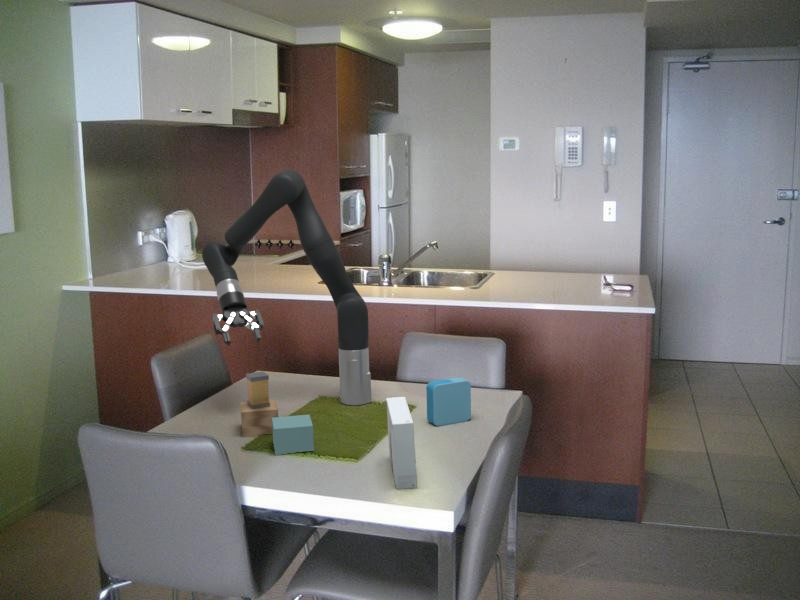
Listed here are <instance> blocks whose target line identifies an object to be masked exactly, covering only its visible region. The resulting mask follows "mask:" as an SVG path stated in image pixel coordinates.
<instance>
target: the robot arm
mask: <svg viewBox="0 0 800 600" xmlns="http://www.w3.org/2000/svg"><path fill="white" fill-rule="evenodd" d="M286 205H287V207H288V208H289V210H290V212H291V214H292V216H293V217H294V220H295V223H296V227H297V229H296V230H297V232H298V236H299V242H300V245H301V248H302V250H303V252H304V253H305V256H306V257H307V260H308V262H309V263H310V265H311V267H312V268H313V270H314V271H315V272H316V274H317V275H318V277H319V278H320V279H321V280H322V283H324V285H325V286H326V288H327V290H328V291H329V294H330V296H331V299H332V301H333V303H334V305H335V308H336V315H337V344H338V346H337V347H338V367H339V368H338V371H339V373H338V374H339V397H340V398H339V399H340V400H339V401H340V403H341V404H342V403H343V404H342V405H345V404H346V405H347V406H361V405H365V404H370V403H371V404H372V378H371V377H372V375H371V374H372V373H371V371H370V355H369V353H370V352H369V348H370V347H369V339H370V338H369V334H370V333H369V310H368V307H367V303H366V302H365V300H364V298H363V297H362V296H361V295H360V292H358V290H357V289H356V287H355V285H354V284H353V282H352V280H351V279H350V277H349V275H348V273H347V271H346V267H345V265H344V261H343V259H342V256H341V254H340V252H339V250H338V247H337V246H336V244H335V242H334V240H333V238H332V236H331V234H330V232H329V231H328V229H327V227H326V225H325V224H324V221H323V220H322V217H321V216H320V214H319V212H318V210H317V209H316V207H315V204H314V202H313V199H312V196H311V195H310V192H309V189H308V187H307V184H306V182H305V179H304V178H303V176H302V175H301V174H300V173H299V172H298V171H296V170H295V169H294V170H293V169H290V168H289V169H284V170H281V171H279V172H278V173H276V174H275V175H273V176H272V178H271V179H270V181H269V182H268V184H267V185H266V187H265V188H264V189H263V191H262V192H261V194H260V195H259V196H258V198H257V199H256V201H255V202H253V204H252V205H251V206H250V207H248V209H247V210H246V211H245V212H243V214H242V215H241V216H240V217H239V218H238V219H237V220H236V221H234V223H233V224H232V225H231V226H230V227H228V228H227V230H226V231H225V233H224V239H225V241H226V243H227V245H225V244H223V243H220V242H217V241H213V240H212V241H208V242H207V243H205V244H204V246H203V248H202V251H201V257H202V260H203V261H202V262H203V263H204V265H205V267H206V269H207V270H208V272H209V274H210V276H211V277H212V279H213V281H214V286H215V291H216V297H217V301H218V304H219V308H220V310H221V314H218V313H216V312H214V313H213V314H212V315H213V316H212V319H211V320H212V325H213V331H214V334H215V335H216V336H217V335H220V336H222V339H223V343H224V345H226V346H231V342H232V341H231V337H230V334H229V330H230V329H231V328H233V329H235V328H243V327H245V328H246V329H248V330H251V331H252V332H253V333H252V334H253V337H254V340H255V343H260V341H261V338H262V335H261V331H263V329H264V325H265V322H264V319H263V318H262V315H261V312H260V310H259V309H258V308H257V309H254V310H253V311H250V310H249V309H248V306H247V302H246V298H245V295H244V291H243V289H242V286H241V284H240V280H239V278H238V274H237V272H236V269H235V268H234V267H233V265H235V264H236V262H237V260H238V258H239V257H240V255H241V253H242V252H243V249H244V248H245V246H247V244H248V243H249V242H251V240H252V239H254V237H255V236H256V235H257V234H258V233H259V232H260V230H261V229H262V228H263V227H264V225H265V224H266V222H267V221H268V220H269V219H270V218H271V217H272V216H273V215H274V214H275V213H277V212H279V210H280V209H282V208H283V207H285V206H286ZM221 320H222V321H223V322H224V323H225V324H224V326H223V328H222V327H221V325H220V323H221Z"/></svg>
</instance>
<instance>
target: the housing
mask: <svg viewBox="0 0 800 600" xmlns="http://www.w3.org/2000/svg"><path fill="white" fill-rule="evenodd" d="M245 378H246V382H247V383H246V384H247V386H246V387H247V401H246V402H247V404H248V406H249V407H251V408H252V409H259V408H265V407H270V402H269V400H270V395H269V380H270V379H269V378H270V377H269V374H267V373H266V372H265V371H256V372H251V373H245Z"/></svg>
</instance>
